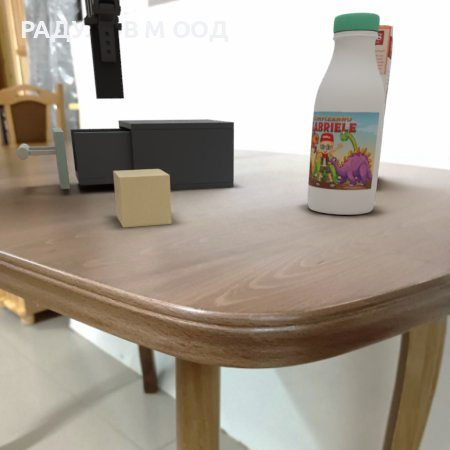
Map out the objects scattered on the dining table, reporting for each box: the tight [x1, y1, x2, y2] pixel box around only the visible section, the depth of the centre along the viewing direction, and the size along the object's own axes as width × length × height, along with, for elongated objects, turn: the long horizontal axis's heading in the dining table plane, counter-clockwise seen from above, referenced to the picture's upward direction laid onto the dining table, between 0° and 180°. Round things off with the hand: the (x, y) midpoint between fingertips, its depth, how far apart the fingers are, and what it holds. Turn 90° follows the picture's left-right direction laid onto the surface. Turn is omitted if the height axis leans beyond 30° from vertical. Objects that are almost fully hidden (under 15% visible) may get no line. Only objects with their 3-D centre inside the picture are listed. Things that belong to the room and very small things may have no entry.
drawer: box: [16, 127, 133, 190], centre depth 70 cm, size 18×11×7 cm, turn 109°
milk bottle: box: [307, 12, 386, 216], centre depth 54 cm, size 8×8×20 cm
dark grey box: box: [118, 118, 235, 192], centre depth 74 cm, size 15×13×9 cm
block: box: [113, 169, 173, 228], centre depth 51 cm, size 5×5×5 cm
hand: (110, 98), depth 51 cm, fingers closed
